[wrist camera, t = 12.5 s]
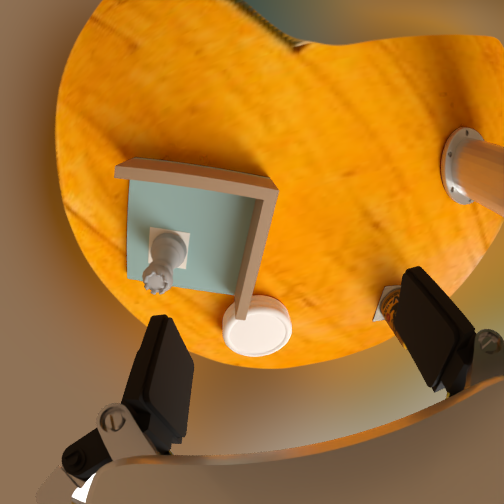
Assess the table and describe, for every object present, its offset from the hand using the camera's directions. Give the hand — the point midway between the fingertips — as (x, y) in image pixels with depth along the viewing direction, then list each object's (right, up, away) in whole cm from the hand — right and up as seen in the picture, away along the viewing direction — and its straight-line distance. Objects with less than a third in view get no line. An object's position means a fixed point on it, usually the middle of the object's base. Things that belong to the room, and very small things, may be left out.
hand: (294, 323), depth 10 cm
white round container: (-1, -7, +30) cm, 31 cm away
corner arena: (-9, +5, +23) cm, 25 cm away
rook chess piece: (-12, +3, +22) cm, 26 cm away
